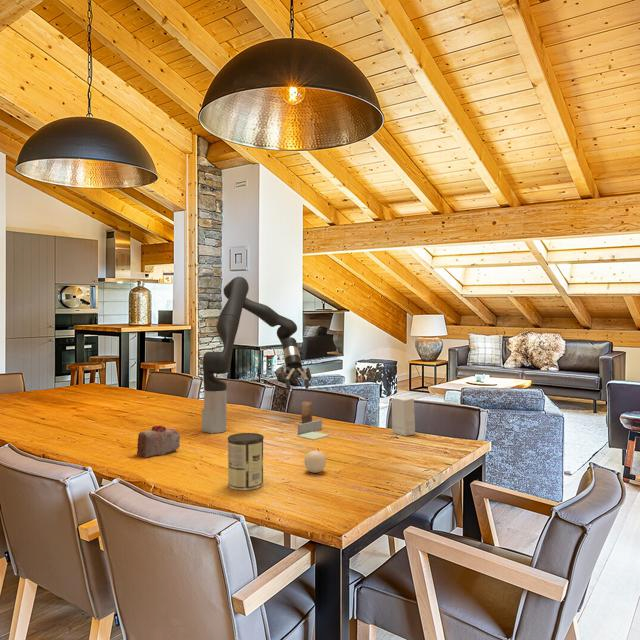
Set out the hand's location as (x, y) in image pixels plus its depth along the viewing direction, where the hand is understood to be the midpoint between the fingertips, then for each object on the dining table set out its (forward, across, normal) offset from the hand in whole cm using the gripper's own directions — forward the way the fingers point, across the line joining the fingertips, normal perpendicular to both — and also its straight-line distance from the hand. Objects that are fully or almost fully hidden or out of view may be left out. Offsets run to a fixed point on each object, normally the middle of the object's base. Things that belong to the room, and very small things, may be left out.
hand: (298, 388), depth 245 cm
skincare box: (+33, -35, +18) cm, 51 cm away
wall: (+24, 0, +4) cm, 24 cm away
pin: (+18, -2, -2) cm, 18 cm away
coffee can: (+62, +42, +49) cm, 89 cm away
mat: (+29, +2, +10) cm, 31 cm away
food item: (+35, +62, +13) cm, 73 cm away
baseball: (+58, +19, +46) cm, 76 cm away
